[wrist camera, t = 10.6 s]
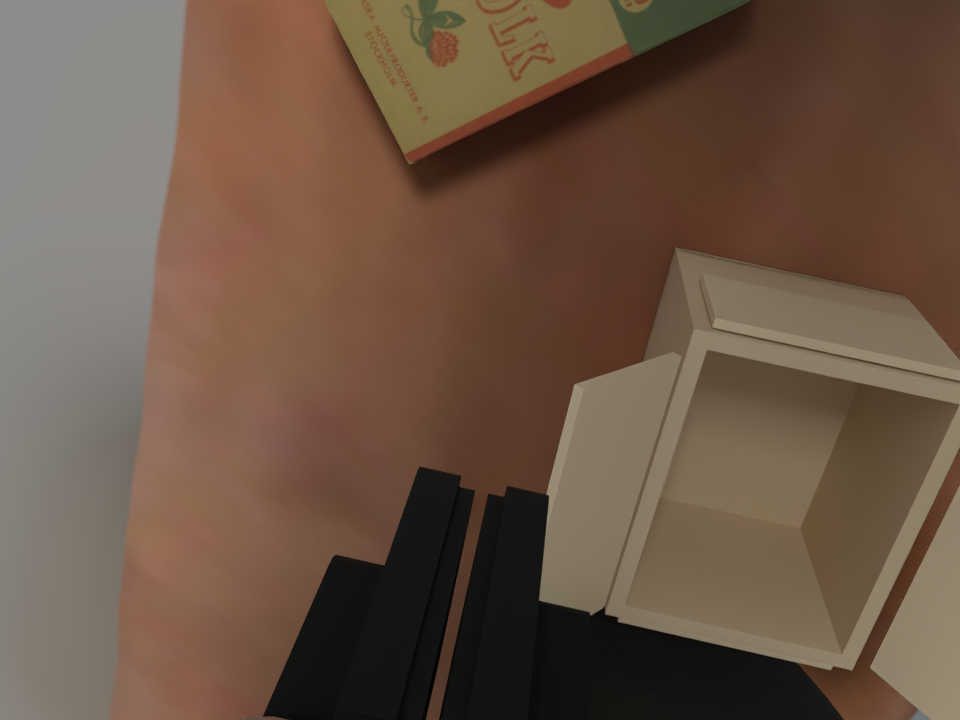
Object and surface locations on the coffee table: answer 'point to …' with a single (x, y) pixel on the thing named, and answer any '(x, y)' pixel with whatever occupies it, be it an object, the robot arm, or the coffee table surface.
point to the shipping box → (785, 460)
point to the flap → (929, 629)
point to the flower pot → (692, 679)
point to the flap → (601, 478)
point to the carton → (495, 55)
